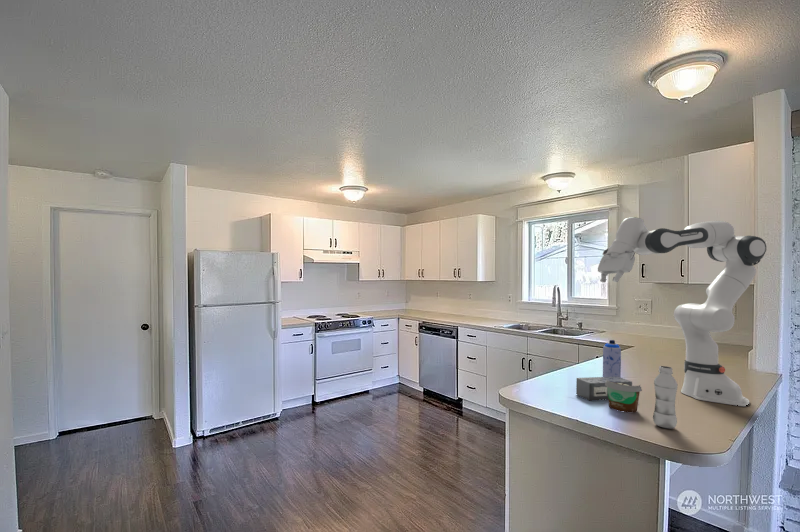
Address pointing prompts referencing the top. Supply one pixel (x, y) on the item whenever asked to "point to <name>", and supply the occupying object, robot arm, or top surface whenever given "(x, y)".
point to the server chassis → (596, 387)
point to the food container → (623, 396)
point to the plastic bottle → (665, 398)
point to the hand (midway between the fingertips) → (608, 281)
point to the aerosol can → (611, 360)
